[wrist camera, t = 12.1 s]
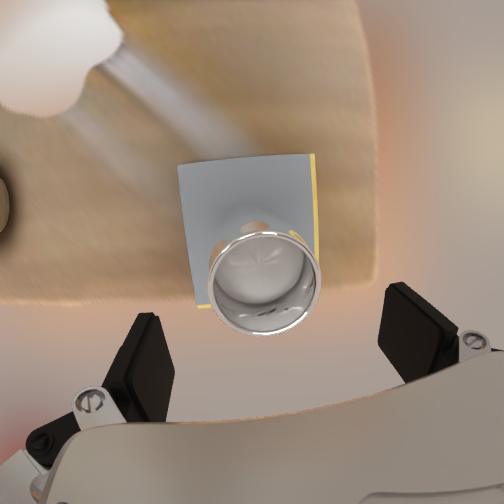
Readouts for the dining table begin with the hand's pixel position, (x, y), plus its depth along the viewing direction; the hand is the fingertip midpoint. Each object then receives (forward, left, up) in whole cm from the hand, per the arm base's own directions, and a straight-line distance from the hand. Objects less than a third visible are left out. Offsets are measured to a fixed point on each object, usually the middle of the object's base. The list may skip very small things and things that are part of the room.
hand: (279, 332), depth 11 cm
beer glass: (0, 0, -20) cm, 20 cm away
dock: (+1, 0, -23) cm, 23 cm away
